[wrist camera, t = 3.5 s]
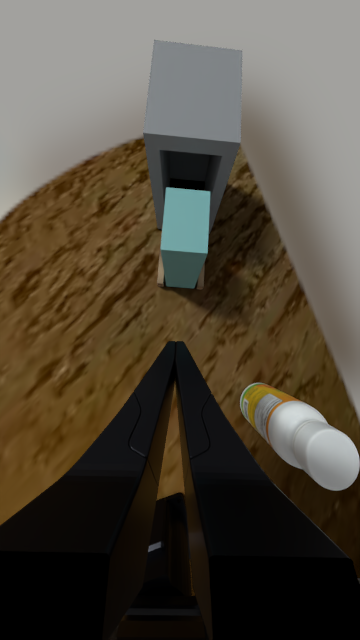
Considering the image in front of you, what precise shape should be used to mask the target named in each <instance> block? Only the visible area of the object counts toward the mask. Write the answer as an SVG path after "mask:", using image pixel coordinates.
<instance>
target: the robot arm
mask: <svg viewBox="0 0 360 640" xmlns="http://www.w3.org/2000/svg"><path fill="white" fill-rule="evenodd" d="M174 384H175V385H176V397H177V408H178V420H179V431H180V442H181V454H182V465H183V477H184V487H185V500H186V505H185V502H184V498H183V495H182V494H181V493H177V494H174V495H171V496H168V497H166V498H163V499H160V500H157V501H156V499H157V492H158V486H159V480H160V473H161V467H162V461H163V454H164V448H165V442H166V435H167V429H168V423H169V416H170V410H171V404H172V397H173V391H174ZM178 499H180V500H178ZM189 559H191V569H192V580H193V589H194V592H195V596H192V593H191V578H190V563H189ZM0 640H360V578H357V575H356V572H355V569H354V565H353V561H352V560H351V559H350V558H349V557H348V556H347V555H346V554H345V553H344V552H343V551H342V550H341V549H340V548H339V547H338V546H337V545H336V544H335V543H334V542H333V541H332V540H331V539H330V538H329V537H328V536H327V535H326V534H325V533H324V532H323V531H322V530H321V529H320V528H319V527H318V526H316V525H315V524H314V523H313V522H312V521H311V520H310V519H309V518H308V517H307V516H306V515H305V514H304V513H303V512H302V511H301V510H300V509H299V508H298V507H297V506H296V505H295V504H294V503H293V502H292V501H291V500H290V499H289V498H288V497H287V496H286V495H285V494H284V493H283V492H282V491H281V490H280V489H279V488H278V487H277V486H276V485H275V484H274V483H273V482H272V481H271V480H270V479H269V477H268V476H267V475H266V474H265V472H264V471H263V470H262V469H261V467H260V466H259V465H258V463H257V462H256V460H255V459H254V457H253V456H252V455H251V453H250V452H249V450H248V449H247V447H246V446H245V444H244V443H243V442H242V440H241V439H240V437H239V436H238V434H237V433H236V431H235V430H234V429H233V427H232V426H231V424H230V423H229V421H228V420H227V418H226V417H225V415H224V414H223V412H222V410H221V408H220V407H219V405H218V403H217V402H216V400H215V398H214V396H213V394H211V391H210V389H209V387H208V385H207V383H206V382H205V380H204V378H203V376H202V374H201V372H200V371H199V369H198V367H197V365H196V363H195V361H194V360H193V358H192V356H191V354H190V352H189V350H188V349H187V347H186V345H185V343H184V342H183V341H177V342H175V341H168V343H167V344H166V345H165V347H164V348H163V350H162V351H161V353H160V354H159V356H158V357H157V358H156V360H155V361H154V363H153V364H152V366H151V367H150V369H149V370H148V372H147V373H146V374H145V376H144V377H143V379H142V380H141V382H140V383H139V385H138V386H137V387H136V389H135V390H134V392H133V393H132V395H131V396H130V397H129V399H128V400H127V402H126V403H125V404H124V406H123V407H122V408H121V410H120V411H119V412H118V414H117V415H116V416H115V417H114V419H113V420H112V421H111V422H110V423H109V425H108V426H107V427H106V428H105V429H104V431H103V432H102V433H101V434H100V435H99V436H98V438H97V439H96V440H95V441H94V442H93V444H92V445H91V446H90V447H89V448H88V449H87V451H86V452H85V453H84V454H83V455H82V457H81V458H80V459H79V460H78V461H77V462H76V463H75V464H74V465H73V467H72V468H71V469H70V470H69V471H68V472H66V473H65V474H64V475H63V476H62V477H61V478H60V479H59V480H58V481H56V482H55V483H54V484H53V485H52V486H50V487H49V488H48V489H46V490H45V491H44V492H43V493H41V494H40V495H39V496H37V497H36V498H35V499H34V500H32V501H31V502H30V503H29V504H27V505H26V506H25V507H23V508H22V509H21V510H20V511H18V512H17V513H16V514H14V515H13V516H12V517H11V518H9V519H8V520H7V521H5V522H4V523H3V524H2V525H0Z"/></svg>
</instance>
